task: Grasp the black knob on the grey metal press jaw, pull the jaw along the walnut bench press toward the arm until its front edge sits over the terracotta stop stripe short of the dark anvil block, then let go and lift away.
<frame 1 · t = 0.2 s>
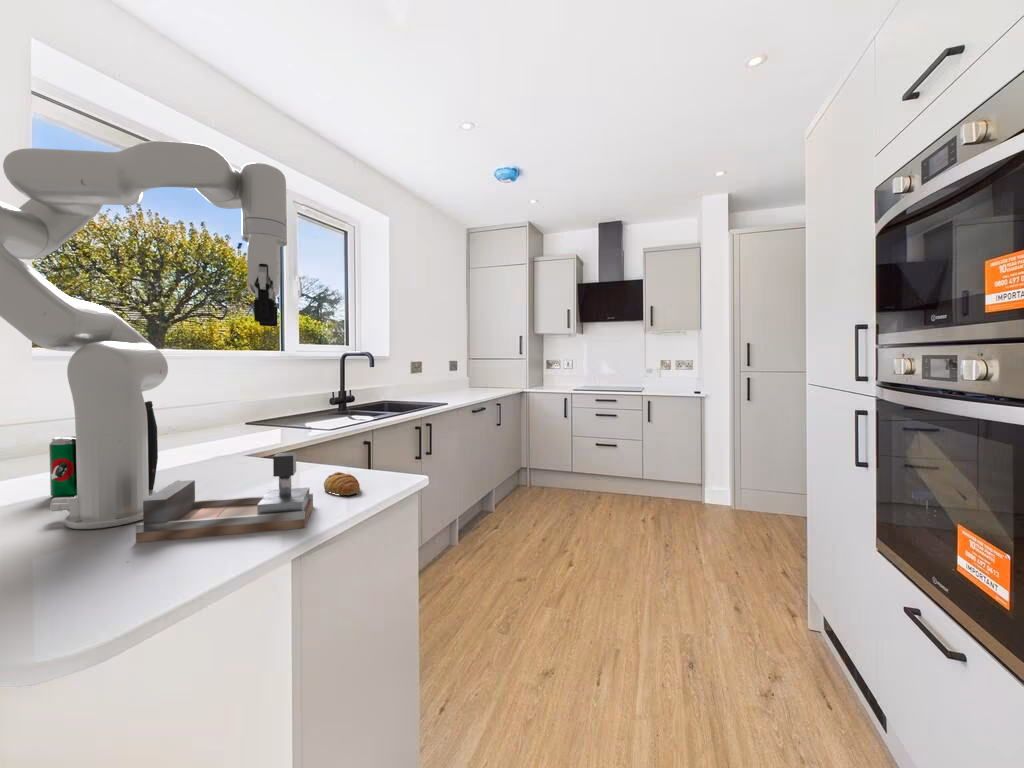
hand: (266, 324, 85), 36 cm above the countertop, tool pointing down, fingers open, 9 cm apart
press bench: (235, 522, 78), on the countertop
soda can: (68, 496, 91), on the countertop
portable speaker: (130, 493, 94), on the countertop
pastry: (343, 492, 99), on the countertop
press jaw: (285, 481, 80), point 7 cm above the countertop, slide at 0.0 cm
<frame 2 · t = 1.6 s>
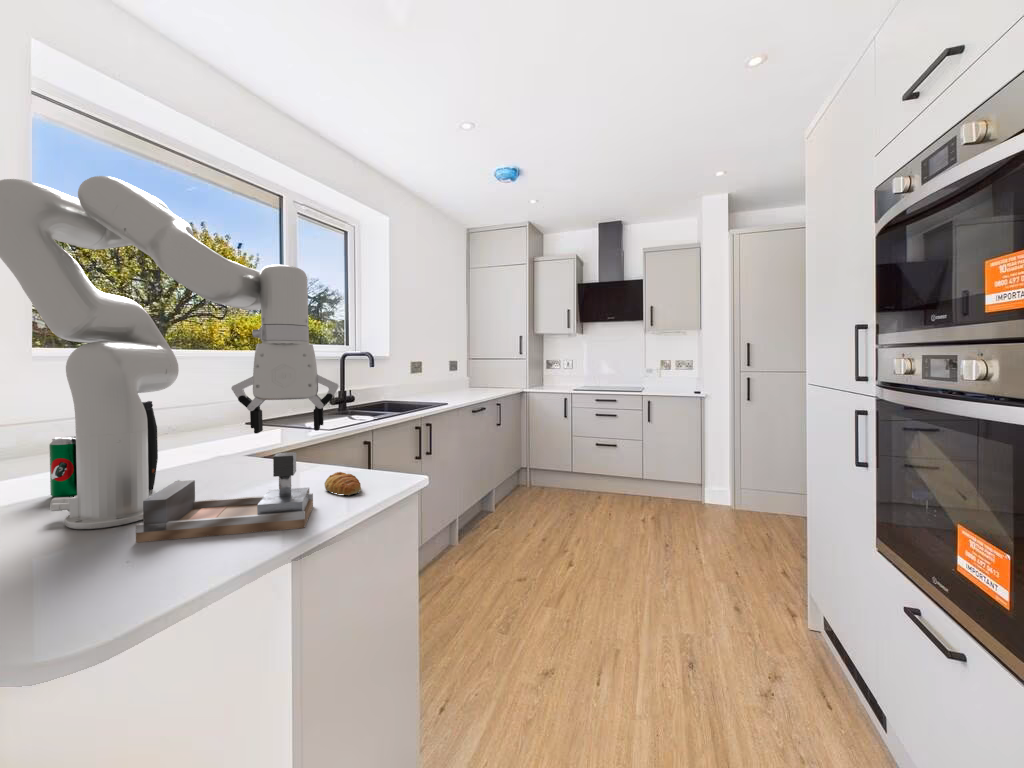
hand: (288, 430, 80), 16 cm above the countertop, tool pointing down, fingers open, 9 cm apart
nothing on the countertop moved.
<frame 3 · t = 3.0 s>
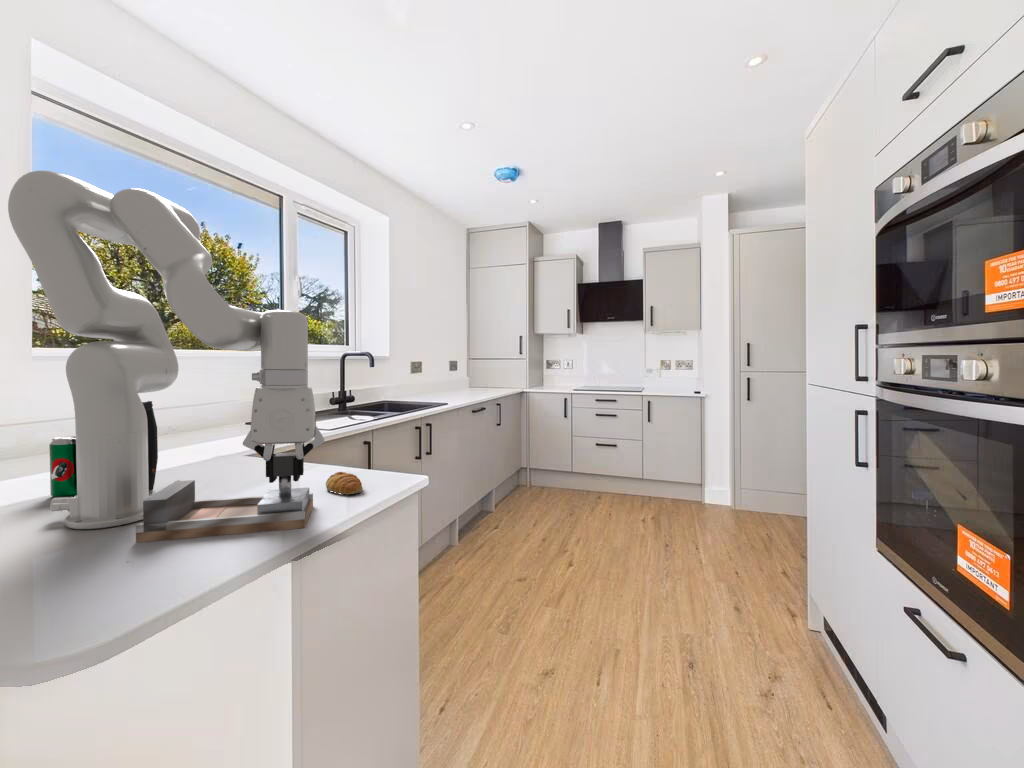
hand: (285, 479, 80), 7 cm above the countertop, tool pointing down, fingers closed on press jaw, 3 cm apart
press jaw: (285, 481, 80), point 7 cm above the countertop, slide at 0.0 cm, touching gripper
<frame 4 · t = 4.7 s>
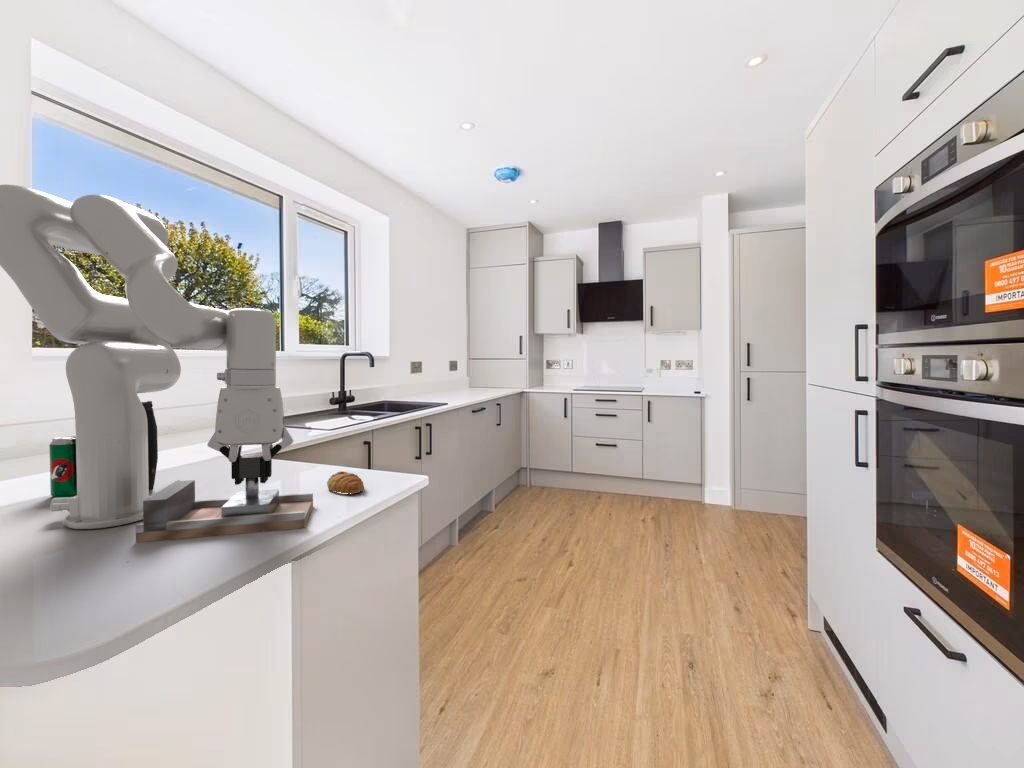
hand: (252, 481, 78), 7 cm above the countertop, tool pointing down, fingers closed on press jaw, 3 cm apart
press jaw: (252, 483, 78), point 7 cm above the countertop, slide at 5.3 cm, touching gripper
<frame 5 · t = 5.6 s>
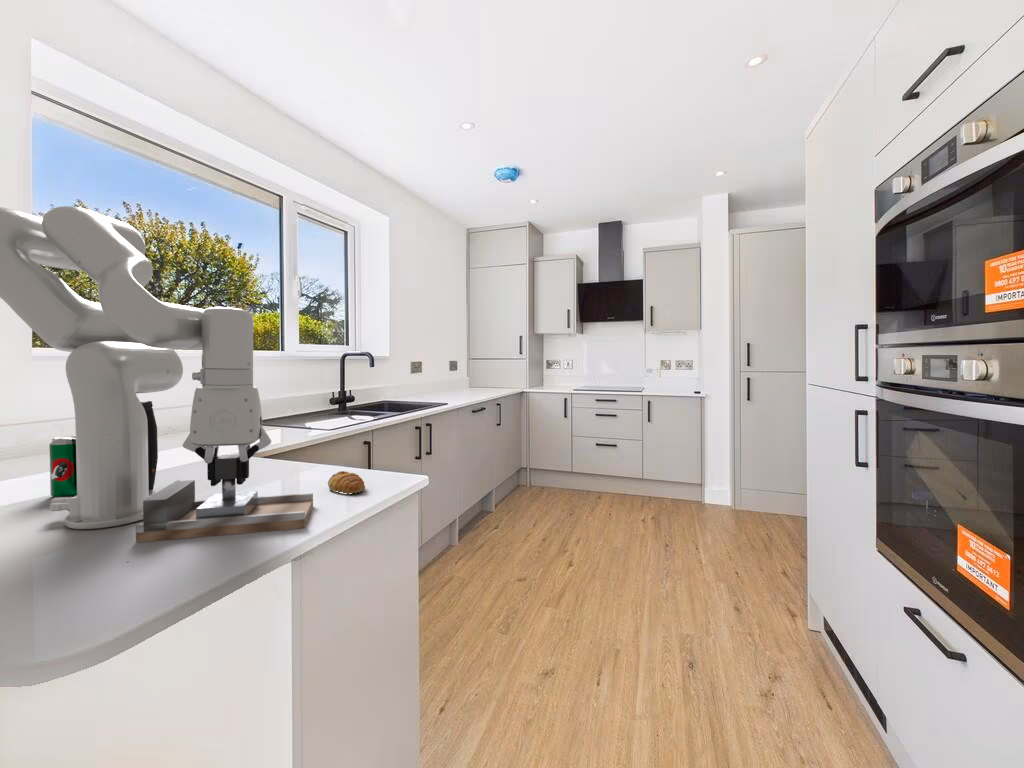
hand: (228, 482, 77), 7 cm above the countertop, tool pointing down, fingers closed on press jaw, 3 cm apart
press jaw: (228, 484, 77), point 7 cm above the countertop, slide at 8.9 cm, touching gripper
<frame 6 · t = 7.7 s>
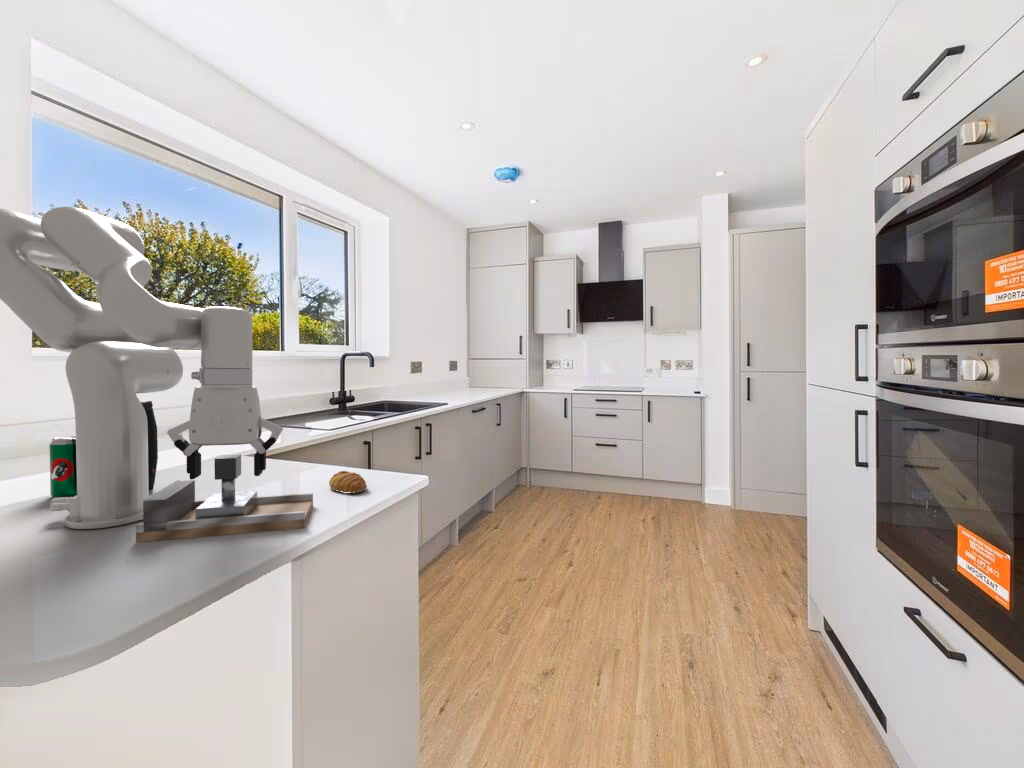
hand: (227, 475, 77), 8 cm above the countertop, tool pointing down, fingers open, 9 cm apart
press jaw: (228, 484, 77), point 7 cm above the countertop, slide at 9.0 cm
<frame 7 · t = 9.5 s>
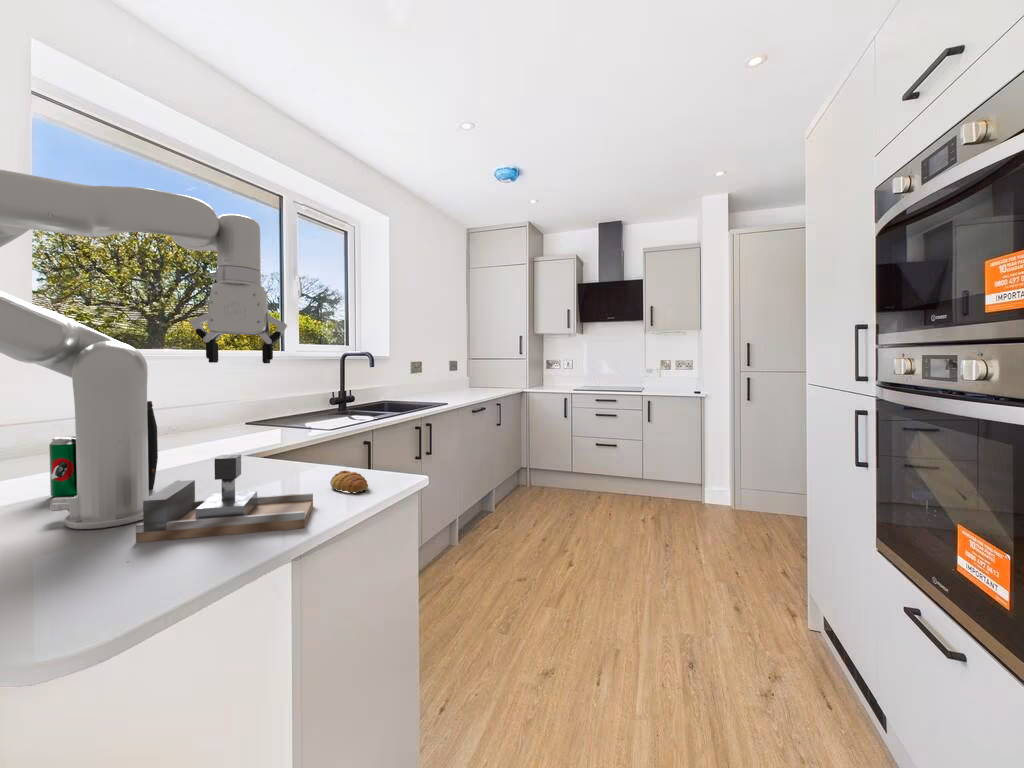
hand: (240, 362, 90), 28 cm above the countertop, tool pointing down, fingers open, 9 cm apart
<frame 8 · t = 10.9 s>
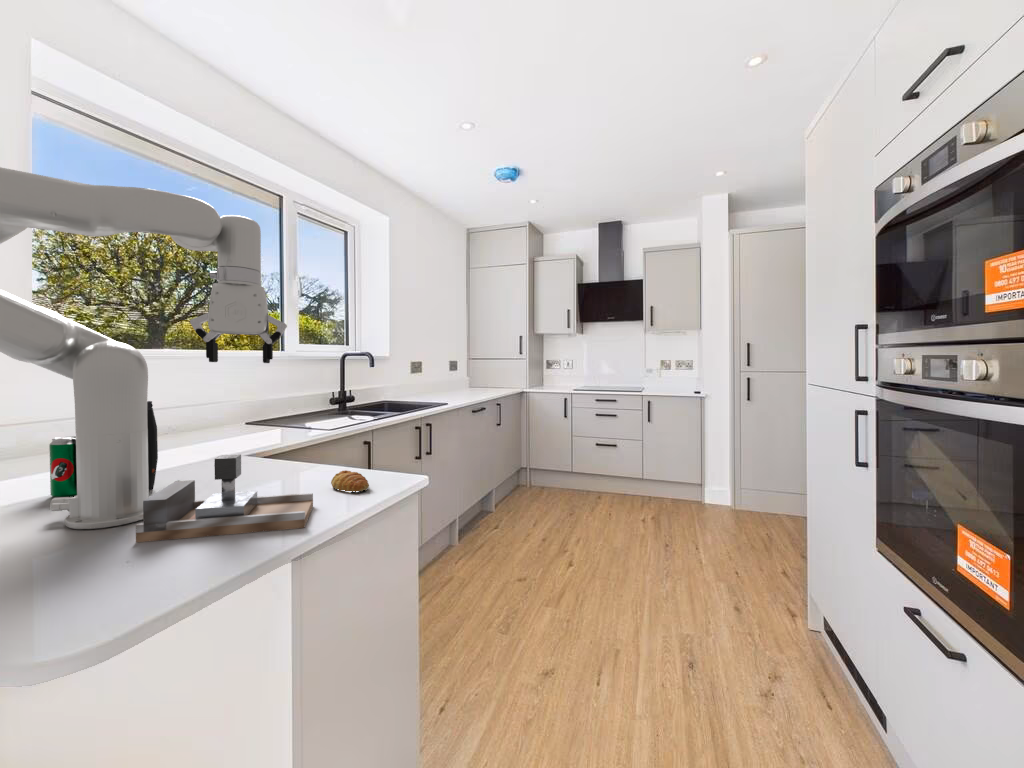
hand: (240, 362, 91), 28 cm above the countertop, tool pointing down, fingers open, 9 cm apart
at the end: press jaw slide at 9.0 cm; the gripper is holding nothing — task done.
